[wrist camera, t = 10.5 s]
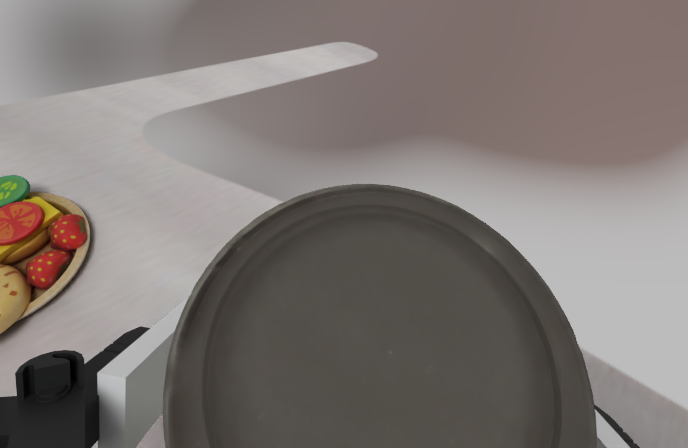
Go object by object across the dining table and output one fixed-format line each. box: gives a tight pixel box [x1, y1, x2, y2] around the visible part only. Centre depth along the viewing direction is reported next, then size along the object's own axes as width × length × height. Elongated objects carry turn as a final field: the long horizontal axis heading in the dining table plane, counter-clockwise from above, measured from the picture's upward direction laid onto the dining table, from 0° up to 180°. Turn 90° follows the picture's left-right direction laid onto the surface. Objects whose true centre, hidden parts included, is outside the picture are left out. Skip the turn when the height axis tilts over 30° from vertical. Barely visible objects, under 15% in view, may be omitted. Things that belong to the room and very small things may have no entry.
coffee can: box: [163, 184, 598, 448], centre depth 14 cm, size 10×10×14 cm
